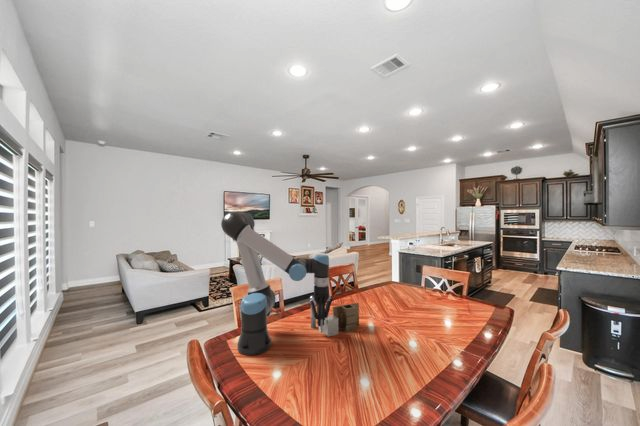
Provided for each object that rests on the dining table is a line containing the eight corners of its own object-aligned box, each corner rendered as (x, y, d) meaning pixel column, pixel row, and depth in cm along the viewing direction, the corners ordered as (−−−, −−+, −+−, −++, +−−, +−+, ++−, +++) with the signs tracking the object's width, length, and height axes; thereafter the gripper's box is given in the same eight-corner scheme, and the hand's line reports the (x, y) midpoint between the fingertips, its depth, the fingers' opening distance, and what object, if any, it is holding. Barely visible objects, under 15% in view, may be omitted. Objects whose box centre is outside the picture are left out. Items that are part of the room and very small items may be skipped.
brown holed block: (346, 332, 137) (346, 309, 137) (340, 327, 143) (340, 305, 143) (364, 328, 142) (364, 306, 142) (358, 324, 148) (357, 302, 148)
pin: (311, 329, 142) (311, 297, 142) (309, 326, 145) (309, 296, 145) (317, 328, 143) (317, 296, 143) (315, 325, 146) (314, 295, 146)
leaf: (327, 336, 133) (327, 312, 133) (322, 331, 139) (322, 308, 139) (357, 330, 140) (356, 307, 140) (350, 325, 146) (350, 303, 146)
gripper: (312, 288, 129) (312, 337, 128) (335, 285, 134) (335, 333, 134) (307, 284, 136) (306, 331, 135) (329, 282, 141) (328, 327, 140)
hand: (320, 332), depth 134 cm, fingers closed
